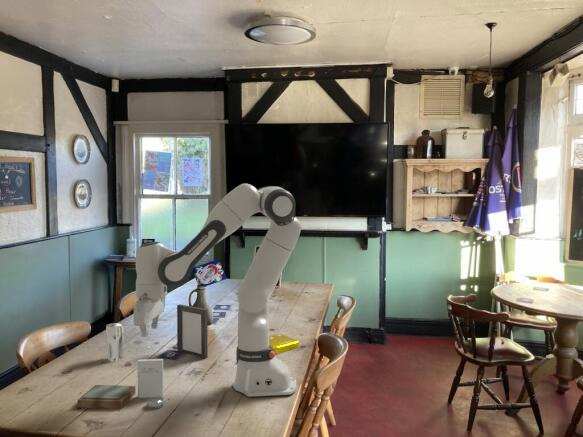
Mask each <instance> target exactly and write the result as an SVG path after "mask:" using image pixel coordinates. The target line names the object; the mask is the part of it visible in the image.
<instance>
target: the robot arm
mask: <svg viewBox="0 0 583 437" xmlns="http://www.w3.org/2000/svg"><path fill="white" fill-rule="evenodd" d="M257 213H261V214H262V215H264V216H265V217H267V218H269V219H270V224H269V229H268V230H267V233H266V234H265V236H264V237H263V240H262V242H261V243H260V246H259V248H258V249H257V251H256V253H255V255H254V256H253V260H252V261H251V264H250V265H249V268H248V270H247V272H246V274H245V276H244V278H243V279H241V281H240V282H239V283H240V284H239V286H238V289H237V294H236V299H237V300H236V301H237V302H238V309H237V310H238V317H237V347H236V351H235V352H236V353H235V355H236V356H235V357H236V359H235V360H236V364H237V365H236V371H235V377H234V383H233V385H232V388H233V389H234V390H235V391H237V392H239V393H242V394H244V395H245V396H246V397H249V398H251V397H266V396H267V397H270V396H283V395H284V396H286V395H287V396H288V395H291V394H294V393H295V392H296V390H297V388H298V385H297V380H296V379H295V377H292V376H291V373H290V368H289V367H288V365H287V364H286V363H284V362H283V361H281V360H280V359H279V358H277V357H276V354H275V349H274V346H273V348H272V347H271V346H269V336H270V299H271V297H272V295H273V293H274V291H275V288H276V286H277V284H278V282H279V280H280V277H281V275H282V273H283V271H284V269H285V267H286V265H287V263H288V261H289V259H290V257H291V255H292V253H293V251H294V249H295V247H296V246H297V243H298V241H299V240H298V239H299V237H300V234H301V232H302V231H301V230H302V223H301V222H300V220H299V219H298V218H297V217H296V199H295V197H294V196H293V194H292V193H291V192H290V191H288V190H286V189H284V188H283V187H280V186H274V185H265V186H263V187H259V188H256V187H255V186H253V185H252V184H249V183H241V184H239V185H238V186H236V187H234V189H232V190H231V191H229V192H228V193H227V194H226V195H225V196H224V197H222V199H220V201H218V202H217V203H216V205H215V206H213V208H212V210H211V211H210V212H209V214H208V216H207V217H206V219H205V222H204V224H203V226H202V228H201V229H200V230H199V232H198V233H197V234H196V236H195V237H194V238H192V240H190V241H189V243H187V244H186V245H185V246H184V247H183V248H182V249H181V250H180V251H179V250H175V249H173V248H170V247H168V246H166V245H165V244H163V243H162V242H160V241H152V242H147V243H143V244H142V245H140V246H139V247H138V248H137V250H136V254H135V256H136V257H135V272H136V280H135V297H136V298H137V299H138V300H137V301H135V303H134V308H133V321H132V322H133V325H134V326H137V327H138V326H139V330H140V335H141V337H143V338H146V337H148V336H149V330H148V324H149V323H150V322H151V321H152V322H151V329H152V330H153V329H155V330H156V329H157V328H159V320H160V315H162V313H164V311H165V308H166V293H167V292H168V291H167V290H168V288H174V289H175V288H179V287H182V286H184V285H186V284H187V282H188V281H189V280H190V277H191V274H192V272H193V270H194V268H195V266H196V265H197V264H198V263H199V262H200V260H202V258H203V257H205V255H206V254H208V252H209V251H210V250H211V249H212V248H213V247H214V246H215V245H218V243H219V242H221V241H223V240H224V239H226V238H227V237H228V236H229V237H230V236H231V235H232V234H233V233H235V232H236V231H237V230H238V229H239V228H241V227H242V226H243V225H244V223H246V222H247V221H248V220H249V219H250V217H252V216H253V215H255V214H257Z"/></svg>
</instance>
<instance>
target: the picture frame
mask: <svg viewBox="0 0 583 437" xmlns="http://www.w3.org/2000/svg"><path fill="white" fill-rule="evenodd" d="M176 324H177V325H176V326H177V327H176V330H177V331H176V333H177V334H176V335H177V337H176V338H177V341H176V343H177V344H176V345H177V350H176V351H177V352H182V353H184V354H187V355H191V356H195V357H197V358H201V359H204V360H206V359H208V356H209V355H208V351H209V350H208V347H209V346H208V309H207V308H202V307H196V306H190V305H187V304H180V303H179V304H177V305H176Z"/></svg>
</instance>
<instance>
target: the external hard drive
mask: <svg viewBox="0 0 583 437" xmlns="http://www.w3.org/2000/svg"><path fill="white" fill-rule="evenodd" d="M154 397H160V398H163V397H164V359H163V358H155V359H154V358H150V359H147V358H146V359H145V358H144V359H138V360H137V398H138V399H144V398H148V399H150V398H154Z"/></svg>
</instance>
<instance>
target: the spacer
mask: <svg viewBox="0 0 583 437" xmlns="http://www.w3.org/2000/svg"><path fill="white" fill-rule="evenodd" d="M163 407H164V398H163V397H150V398H148V399H147V401H146V408H147V409H148V410H159V409H161V408H163Z"/></svg>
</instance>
